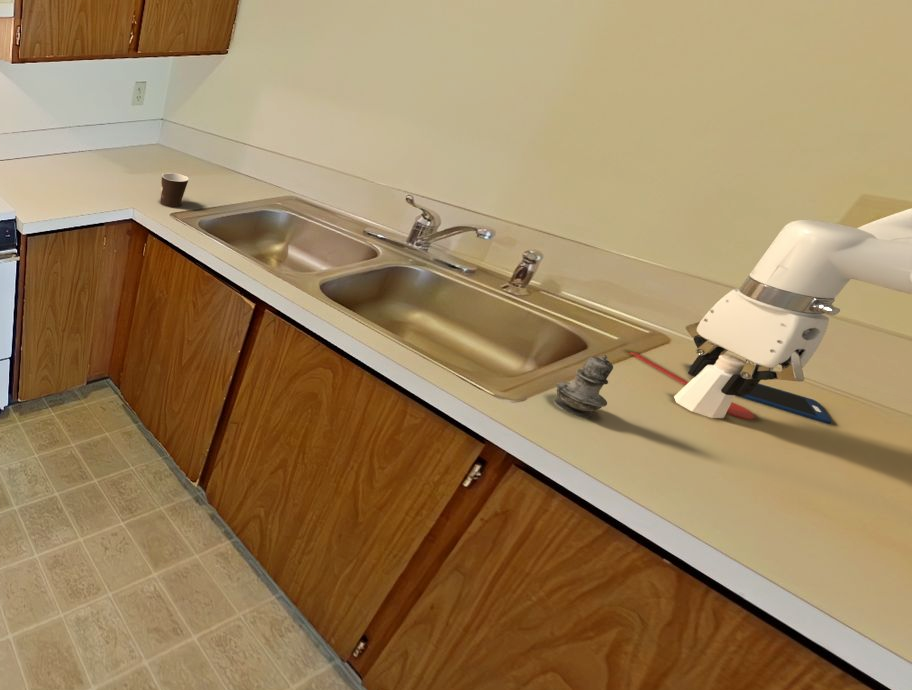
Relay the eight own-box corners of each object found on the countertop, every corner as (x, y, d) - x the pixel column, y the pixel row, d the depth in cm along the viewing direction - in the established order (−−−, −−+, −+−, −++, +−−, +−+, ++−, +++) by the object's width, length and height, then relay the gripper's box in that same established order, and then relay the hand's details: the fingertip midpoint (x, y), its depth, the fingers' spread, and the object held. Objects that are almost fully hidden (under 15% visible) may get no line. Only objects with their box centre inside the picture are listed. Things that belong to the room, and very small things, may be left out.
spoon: (762, 421, 87) (764, 419, 87) (732, 419, 87) (734, 417, 87) (644, 355, 103) (645, 352, 103) (619, 353, 103) (621, 351, 103)
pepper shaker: (716, 424, 86) (756, 373, 82) (666, 402, 91) (701, 353, 87) (728, 415, 88) (768, 365, 84) (678, 394, 93) (714, 345, 89)
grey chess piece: (563, 417, 88) (597, 362, 83) (538, 393, 93) (569, 341, 88) (607, 425, 86) (644, 370, 81) (579, 401, 91) (613, 347, 87)
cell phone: (832, 426, 86) (835, 423, 86) (695, 384, 95) (698, 381, 95) (815, 404, 91) (818, 400, 90) (687, 365, 100) (689, 362, 99)
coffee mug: (177, 210, 171) (183, 183, 167) (153, 204, 176) (157, 177, 172) (190, 201, 179) (195, 174, 175) (166, 195, 184) (170, 169, 180)
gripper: (894, 328, 73) (810, 423, 80) (739, 270, 88) (680, 354, 95) (835, 325, 73) (757, 420, 80) (691, 268, 88) (636, 352, 96)
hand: (715, 383), depth 87 cm, fingers closed on pepper shaker, 3 cm apart
